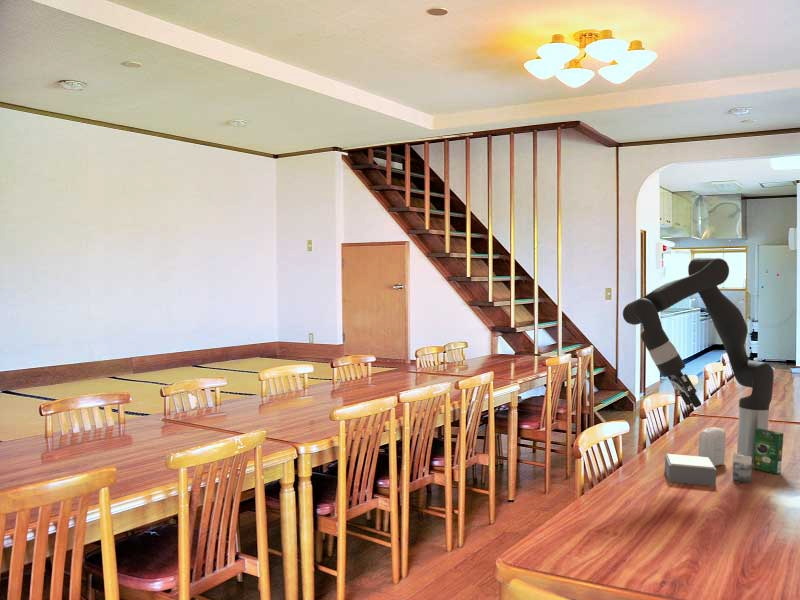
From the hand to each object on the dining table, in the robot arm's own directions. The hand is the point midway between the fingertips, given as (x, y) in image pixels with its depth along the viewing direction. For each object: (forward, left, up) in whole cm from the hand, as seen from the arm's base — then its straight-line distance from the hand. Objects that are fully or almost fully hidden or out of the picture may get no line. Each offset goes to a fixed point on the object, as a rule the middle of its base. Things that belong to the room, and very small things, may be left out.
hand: (694, 405), depth 213 cm
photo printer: (-19, +8, -23) cm, 31 cm away
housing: (-2, +14, -22) cm, 27 cm away
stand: (0, -1, -22) cm, 22 cm away
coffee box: (-17, +25, -23) cm, 37 cm away
